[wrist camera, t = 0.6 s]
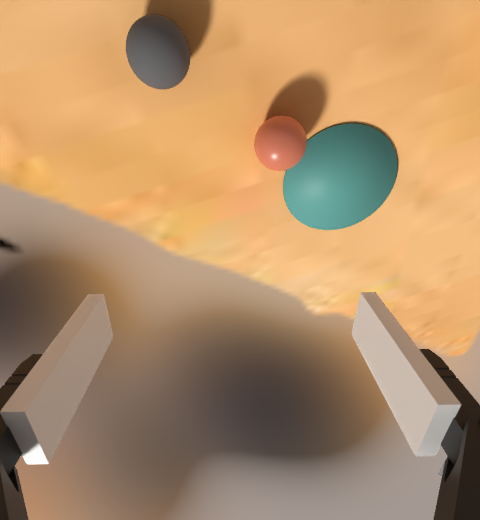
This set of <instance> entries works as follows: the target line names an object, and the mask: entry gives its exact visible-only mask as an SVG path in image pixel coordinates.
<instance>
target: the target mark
mask: <svg viewBox="0 0 480 520" xmlns="http://www.w3.org/2000/svg"><path fill="white" fill-rule="evenodd" d="M397 169H398V163H397V156H396V152H395V149H394V147H393V145H392V143H391V142H390V140H389V139H388V138H387V137H386V136H385V135H384V134H383V133H381V132H380V131H379V130H377V129H375V128H373V127H370V126H367V125H363V124H357V123H348V124H340V125H336V126H333V127H330V128H327V129H325V130H323V131H321V132H319V133H317V134H316V135H314V136H313V137H311V138H310V139H309V140H307V146H306V151H305V153H304V156H303V157H302V159H301V160H300V162H299V163H298V164H296V165H295V166H294V167H292V168H290V169H288V170H286V172H285V176H284V182H283V193H284V199H285V202H286V205H287V207H288V209H289V210H290V212H291V213H292V215H293V216H294V217H295V218H296V219H297V220H299V221H300V222H301V223H303V224H305V225H307V226H309V227H312V228H316V229H322V230H335V229H341V228H345V227H349V226H352V225H354V224H356V223H358V222H360V221H362V220H364V219H365V218H367V217H368V216H370V215H371V214H372V213H374V212H375V211H376V210H377V209H378V208H379V207H380V206H381V205H382V204H383V202H384V201H385V200H386V198H387V197H388V195H389V194H390V192H391V190H392V188H393V186H394V183H395V180H396V176H397Z"/></svg>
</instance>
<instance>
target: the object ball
mask: <svg viewBox="0 0 480 520" xmlns="http://www.w3.org/2000/svg"><path fill="white" fill-rule="evenodd" d="M254 146H255V152H256V155H257V157H258V159H259V161H260V162H261V163H262V164H263V165H264V166H265V167H267V168H269V169H271V170H274V171H284V170H288V169H290V168H292V167H294V166H295V165H296V164H298V163H299V162H300V160H301V159H302V157H303V156H304V153H305V151H306V146H307V138H306V133H305V131H304V129H303V127H302V126H301V124H300V123H299V122H298V121H297V120H295V119H294V118H292V117H289V116H283V115H280V116H275V117H272V118H270V119H268V120H267V121H265V122H264V123H263V124H262V125H261V126H260V128H259V130H258V131H257V134H256V137H255V143H254Z"/></svg>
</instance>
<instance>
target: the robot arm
mask: <svg viewBox="0 0 480 520" xmlns="http://www.w3.org/2000/svg"><path fill="white" fill-rule="evenodd" d="M352 336H353V338H354V340H355V342H356V344H357V346H358V348H359V350H360V351H361V353H362V355H363V357H364V359H365V361H366V363H367V365H368V367H369V369H370V371H371V372H372V374H373V376H374V378H375V380H376V382H377V384H378V386H379V388H380V389H381V392H382V393H383V395H384V397H385V399H386V401H387V403H388V405H389V407H390V409H391V410H392V412H393V415H394V416H395V418H396V420H397V422H398V424H399V426H400V427H401V430H402V432H403V434H404V435H405V437H406V439H407V441H408V443H409V445H410V447H411V449H412V451H413V453H414V454H415V456H436V455H437V453H438V451H439V449H440V447H441V446H442V447H443V449H444V450H445V452H446V454H447V455H448V457H447V459H446V461H445V463H444V464H443V466H442V468H441V470H440V472H439V475H441V476H442V479H441V485H440V489H439V495H438V500H437V505H436V510H435V515H434V520H480V405H479V404H478V402H477V401H476V400H475V399H474V398H473V396H472V395H471V394H470V393H469V391H468V390H467V389H466V388H465V387H464V386H463V384H462V383H461V382H460V381H459V379H458V378H456V376H455V375H454V373H453V372H452V371H451V370H449V367H448V366H447V365H446V364H445V362H444V361H443V360H442V359H441V358H440V357H439V356H437V355H436V354H435V353H433V352H432V351H431V350H429V349H418V347H417V346H416V345H415V343H414V342H413V341H412V339H411V338H410V337H409V336H408V334H407V333H406V332H405V330H404V329H403V328H402V326H401V325H400V324H399V322H398V321H397V320H396V319H395V317H394V316H393V315H392V313H391V312H390V311H389V309H388V308H387V307H386V306H385V304H384V303H383V302H382V300H381V299H380V298H379V296H378V295H377V294H376V292H361V294H360V298H359V303H358V307H357V312H356V316H355V321H354V325H353V330H352ZM112 338H113V333H112V329H111V324H110V320H109V315H108V311H107V307H106V302H105V298H104V294H88V295H87V297H86V298H85V299H84V301H83V302H82V303H81V305H80V306H79V307H78V309H77V310H76V311H75V313H74V314H73V315H72V317H71V318H70V319H69V321H68V322H67V323H66V324H65V326H64V327H63V328H62V330H61V331H60V332H59V334H58V335H57V337H56V338H55V339H54V340H53V342H52V343H51V344H50V346H49V347H48V348H47V350H46V351H45V352H44V354H33V355H32V356H30V357H29V358H28V359H26V360H25V361H24V362H22V363H21V364H20V365H19V366H18V368H17V369H16V370H15V371H14V373H13V374H12V376H11V377H9V379H8V380H7V381H6V383H5V385H4V386H2V387H1V388H0V520H28V516H27V511H26V507H25V503H24V498H23V494H22V490H21V485H20V481H19V476H18V472H17V469H16V468H15V464H16V463H17V461H18V459H19V458H20V456H21V454H22V456H23V458H24V460H25V462H26V464H49V462H50V460H51V458H52V457H53V455H54V453H55V451H56V449H57V447H58V445H59V443H60V441H61V438H62V437H63V435H64V433H65V431H66V429H67V427H68V425H69V423H70V421H71V419H72V417H73V415H74V413H75V411H76V409H77V407H78V405H79V403H80V401H81V399H82V397H83V395H84V394H85V392H86V390H87V388H88V386H89V384H90V382H91V380H92V378H93V376H94V374H95V372H96V370H97V368H98V366H99V364H100V362H101V360H102V358H103V356H104V354H105V352H106V350H107V348H108V346H109V344H110V342H111V340H112Z"/></svg>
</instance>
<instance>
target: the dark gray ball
mask: <svg viewBox="0 0 480 520" xmlns="http://www.w3.org/2000/svg"><path fill="white" fill-rule="evenodd" d="M126 53H127V58H128V61H129V64H130V66H131V68H132V70H133V72H134V73H135V74H136V76H137V77H138V78H139V79H140V80H141V81H142V82H144V83H145V84H147V85H148V86H150V87H153V88H156V89H169V88H172V87H174V86H176V85H178V84H179V83H180V82H181V81H182V80H183V79H184V77H185V76H186V74H187V72H188V69H189V65H190V49H189V45H188V42H187V39H186V37H185V35H184V33H183V32H182V30H181V29H180V28H179V27H178V25H176V24H175V23H174V22H173V21H172V20H170V19H168V18H167V17H164V16H161V15H157V14H151V15H146V16H143V17H141V18H139V19H138V20H137V21H136V22H135V23H134V24H133V25H132V27H131V28H130V30H129V32H128V36H127V40H126Z"/></svg>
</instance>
